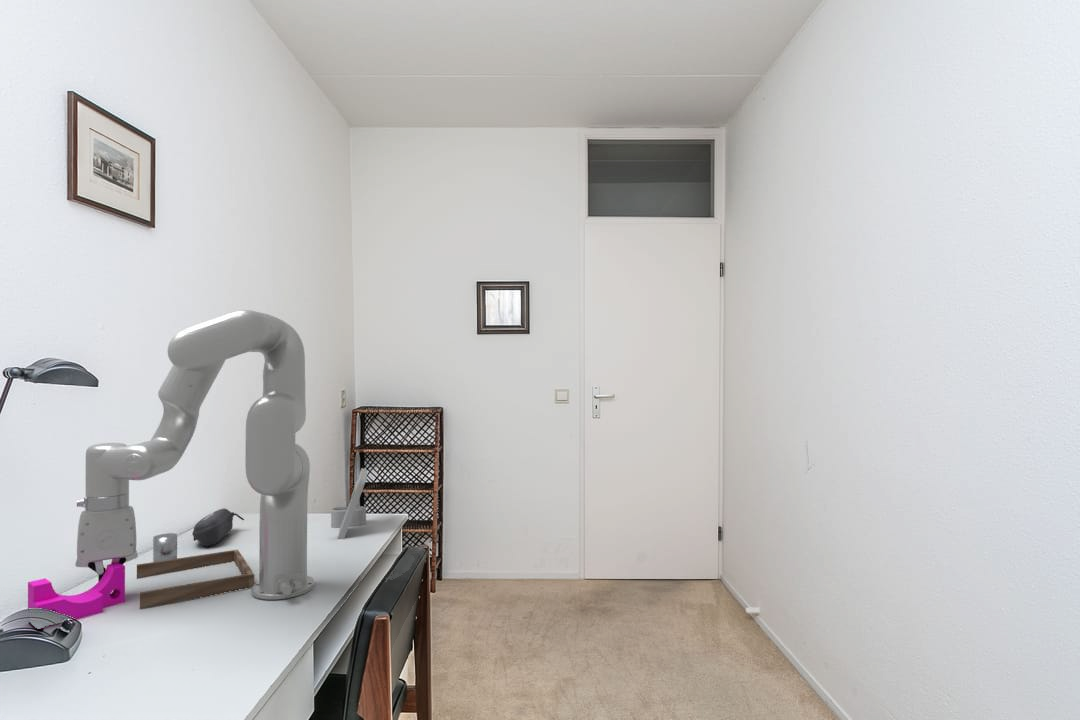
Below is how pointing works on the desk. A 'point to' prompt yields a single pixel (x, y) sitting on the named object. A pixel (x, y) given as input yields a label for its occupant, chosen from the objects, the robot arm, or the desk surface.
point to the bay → (194, 589)
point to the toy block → (80, 595)
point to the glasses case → (214, 527)
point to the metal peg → (164, 547)
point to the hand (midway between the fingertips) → (107, 590)
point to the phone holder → (350, 509)
